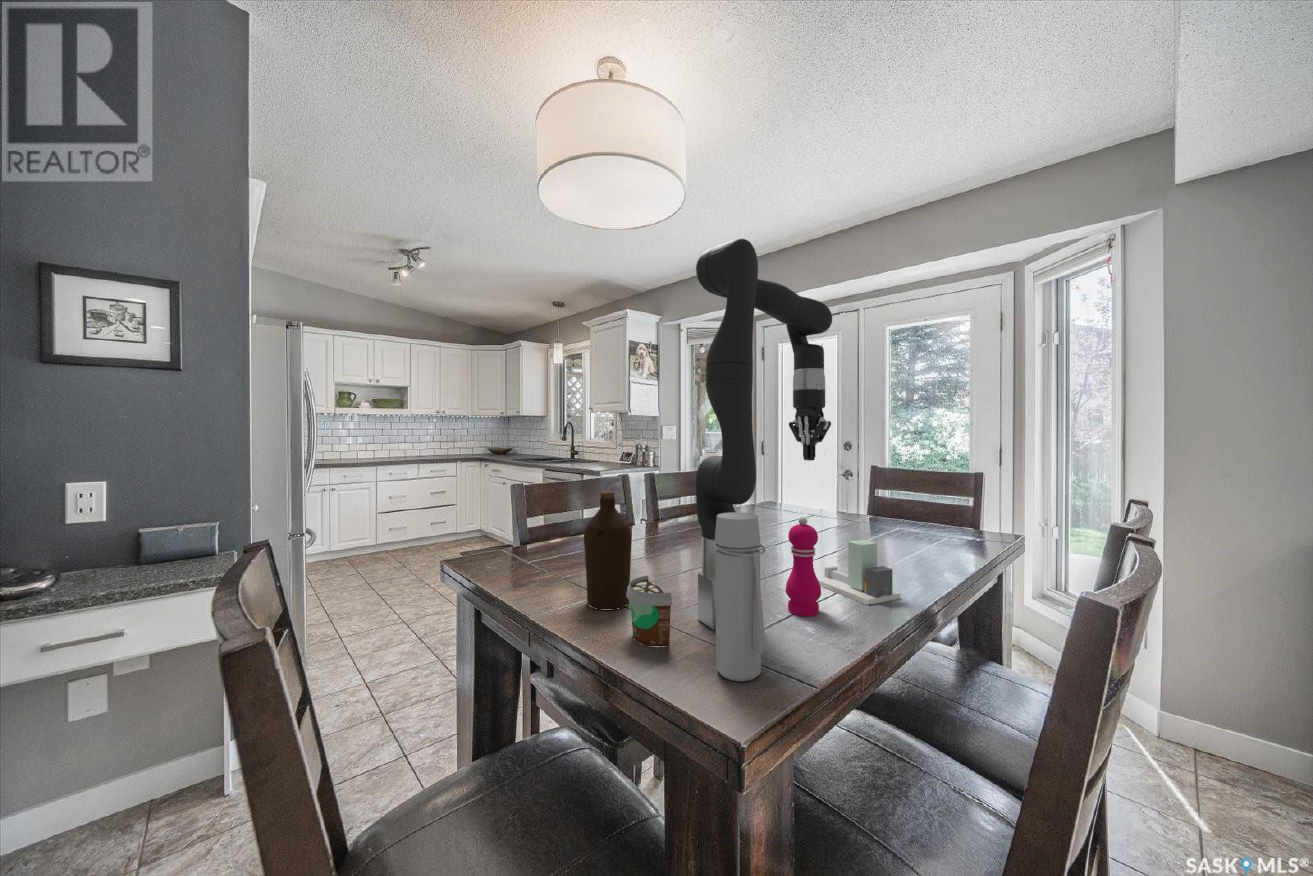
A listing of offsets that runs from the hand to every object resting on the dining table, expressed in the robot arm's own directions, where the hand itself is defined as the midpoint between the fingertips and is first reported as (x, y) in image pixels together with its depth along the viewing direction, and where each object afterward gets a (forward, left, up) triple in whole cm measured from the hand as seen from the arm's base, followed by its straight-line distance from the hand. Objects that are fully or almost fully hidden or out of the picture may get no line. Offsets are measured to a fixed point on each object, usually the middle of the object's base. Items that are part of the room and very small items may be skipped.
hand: (809, 460), depth 121 cm
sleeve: (+8, -9, -29) cm, 32 cm away
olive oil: (-48, +10, -31) cm, 58 cm away
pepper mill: (-12, -12, -31) cm, 36 cm away
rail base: (+8, -7, -31) cm, 33 cm away
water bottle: (-39, -30, -31) cm, 58 cm away
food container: (-48, -11, -31) cm, 58 cm away
